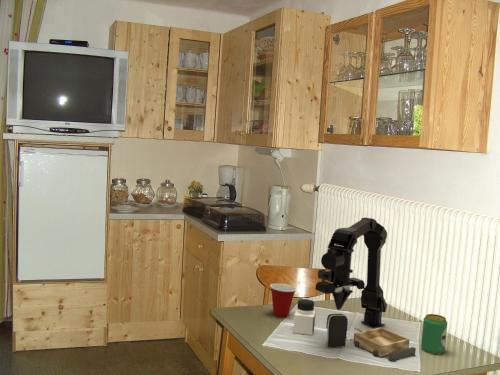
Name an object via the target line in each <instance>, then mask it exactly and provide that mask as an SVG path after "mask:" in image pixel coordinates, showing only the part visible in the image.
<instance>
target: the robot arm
mask: <svg viewBox="0 0 500 375" xmlns="http://www.w3.org/2000/svg"><path fill="white" fill-rule="evenodd" d="M362 236H363V243H364V245H365V246H366V248H367V270H366V285H365V281H364V280H362V279H359V278H356V277H350V275H351V274H353V272H354V270H353V269H352V268H351V266H352V265H351V264H352V255H353V253H354V252H355V250H354V247H355V245H356V244H358V239H359V238H360V237H362ZM387 239H388V232H387V230H386V229H385V227H384V226H383V225H381V224H380V223H379V222H377V220H376V219H375V218H373V217H371V218H370V217H365V216H364V217H361V219H360V220H359V221H356V222H355V223H354V224H352V225H350V226H349V227H339V228H337V229H335V230H334V232H333V234H332V236H331V238H330V240H329V243H328V245H327V250H326V253H324V254H323V255H321V256H322V257H321V259H320V263H321V265H322V267H323V268H324V269H323V268H322V269H318V271H317V278H318V279H319V280H321V281H317V282H316V283H315V287H314V288H315V291H318V292H320V293H323V294H328V295H331V294H332V297H333V300H334V304H335V308H336V310H338V311H339V310H341V309H342V307H343V306H344V304H345V303H346V301H347V299H348V298H349V297H350V296H351V294H352V293H353V292H354V291H353V290H351V288H352V287H356V288H357V289H358V290H361V294H360V295H361V296H360V304H361V308H362V309H365V310H364V314H363V320H361V324H364V325H365V326H368V327H370V328H374V329H375V328H380V327H383V326H385V324H384V323H383V322H382V316H383V313H386V311H387V308H388V304H387V302H386V300H385V298H384V290H383V289H382V286H381V285H380V283H381V282H380V280H381V279H380V278H381V277H380V276H381V255H382V253H381V252H382V248H383V247H384V245H385V244H386V242H387ZM326 270H327V271H326Z"/></svg>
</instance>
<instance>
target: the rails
mask: <svg viewBox="0 0 500 375" xmlns="http://www.w3.org/2000/svg"><path fill="white" fill-rule="evenodd" d="M353 329H354V330H355V331H358V332H363V331H364V330H362V329H359V328H357V327H355V328H354V327H353ZM347 337H348V336H346V338H347ZM350 340H351V341H350ZM350 340H349V341H350V342H352V341H354V339H353V338H350ZM416 349H417V348H416V347H413V346H412V347H409V348H407V349H403V350H399V351H395V352H391V353H389V355H385V356H382V357H383V358H385V359H387V360H388V361H390V362H393V363H396V362H397V360H401V359H406V358H409V357H415V358H416V357H417V355H416ZM405 357H406V358H405Z"/></svg>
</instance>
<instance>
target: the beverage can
mask: <svg viewBox="0 0 500 375" xmlns="http://www.w3.org/2000/svg"><path fill="white" fill-rule="evenodd" d="M422 324H423V325H422V331H421V341H420V342H421V344H420V347H421V348H422V351H423V352H424V353H428V354H432V355H441V354H443V353H444V351H446V344H447V341H446V340H447V330H448V320H447V318H446V317H445V316H443V315H440V314H435V313H428V314H425V317H424V318H423V322H422Z"/></svg>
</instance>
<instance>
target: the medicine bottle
mask: <svg viewBox="0 0 500 375" xmlns="http://www.w3.org/2000/svg"><path fill="white" fill-rule="evenodd" d="M293 321H294V322H293V333H294V334H299V335H307V336H313V335H314V331H315V324H316V311H315V302H314V300H312V299H310V298H300V299H298V300H297V308H296V310H295V312H294V319H293Z"/></svg>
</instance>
